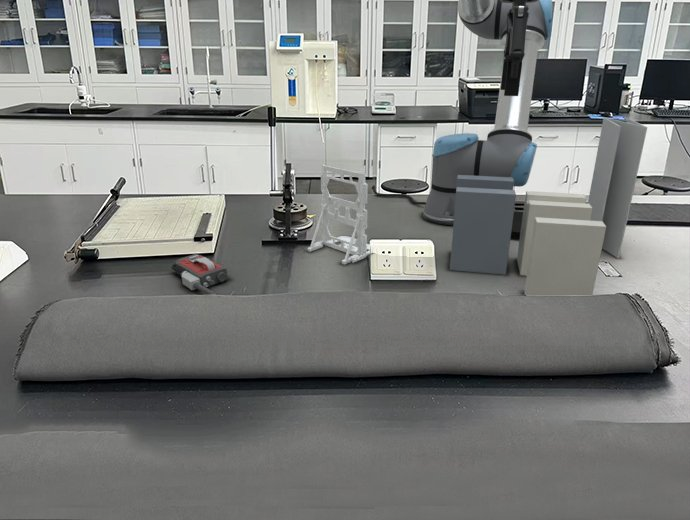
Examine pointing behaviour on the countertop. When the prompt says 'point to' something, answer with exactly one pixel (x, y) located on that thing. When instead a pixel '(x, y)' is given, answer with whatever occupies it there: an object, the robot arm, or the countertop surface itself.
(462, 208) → the grey books
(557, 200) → the white books
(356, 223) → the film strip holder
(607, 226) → the brochure
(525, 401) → the countertop surface
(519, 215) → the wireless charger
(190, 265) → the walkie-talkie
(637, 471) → the countertop surface
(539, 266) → the white book
